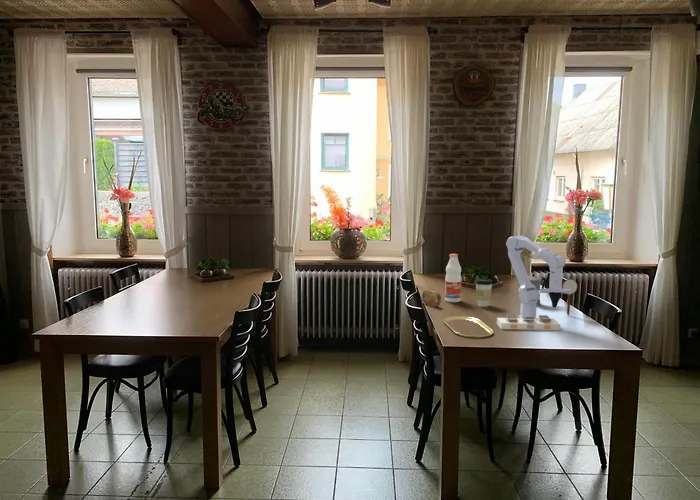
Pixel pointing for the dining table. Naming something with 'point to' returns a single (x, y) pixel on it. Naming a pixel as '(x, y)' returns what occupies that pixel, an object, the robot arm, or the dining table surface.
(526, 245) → the robot arm
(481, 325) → the serving platter
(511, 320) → the rocker
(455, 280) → the fruit juice
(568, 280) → the magnifying glass
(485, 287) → the coffee cup
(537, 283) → the coffeepot
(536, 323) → the switch panel
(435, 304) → the tin
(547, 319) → the rocker
